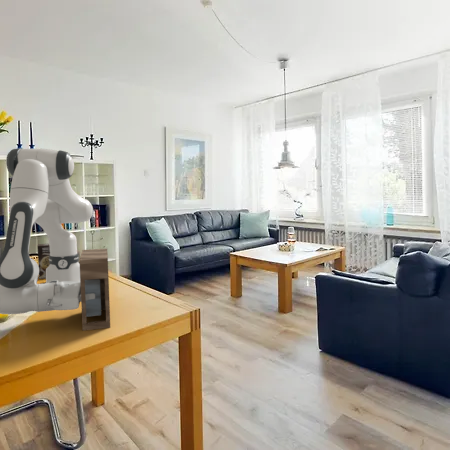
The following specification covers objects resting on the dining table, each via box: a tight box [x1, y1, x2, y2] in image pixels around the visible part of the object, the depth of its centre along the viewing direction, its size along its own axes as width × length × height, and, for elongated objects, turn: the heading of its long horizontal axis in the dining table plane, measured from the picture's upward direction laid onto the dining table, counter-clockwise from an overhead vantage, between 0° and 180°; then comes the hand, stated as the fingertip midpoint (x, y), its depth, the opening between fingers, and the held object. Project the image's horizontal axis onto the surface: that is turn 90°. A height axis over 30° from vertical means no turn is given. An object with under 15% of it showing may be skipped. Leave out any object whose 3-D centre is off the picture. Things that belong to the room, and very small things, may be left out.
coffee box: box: [37, 243, 50, 280], centre depth 177 cm, size 9×6×16 cm
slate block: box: [85, 279, 102, 318], centre depth 121 cm, size 5×5×12 cm
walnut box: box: [78, 248, 111, 332], centre depth 121 cm, size 18×8×22 cm, turn 18°
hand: (95, 292), depth 121 cm, fingers closed on slate block, 5 cm apart
